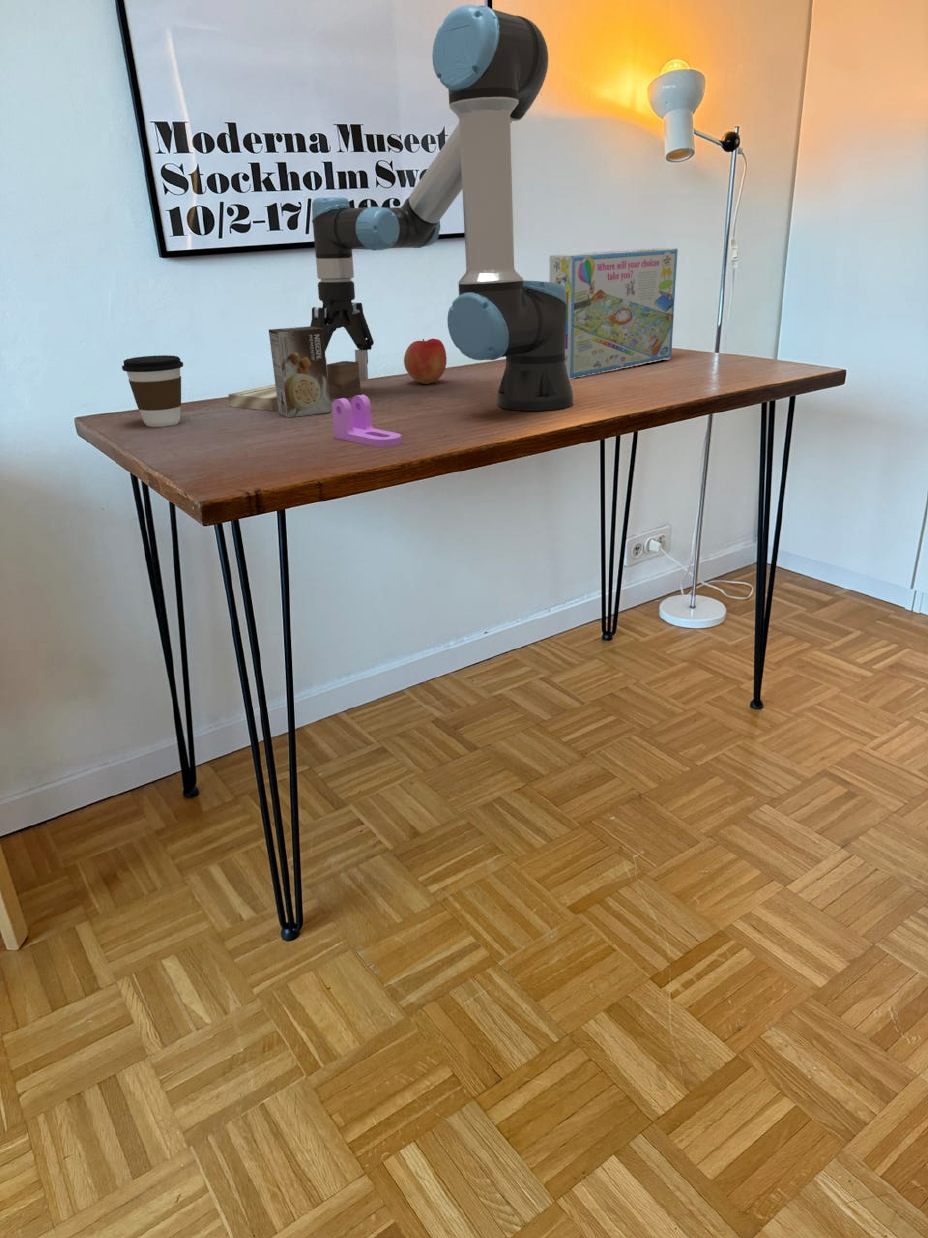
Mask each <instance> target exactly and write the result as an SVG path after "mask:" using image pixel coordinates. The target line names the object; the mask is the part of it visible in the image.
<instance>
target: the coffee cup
mask: <svg viewBox="0 0 928 1238" xmlns="http://www.w3.org/2000/svg"><path fill="white" fill-rule="evenodd" d="M182 367H184V362H183V361H181V358H180V357H179V356H177V355H167V354H166V355H147V356H145V355H144V356H138V357H136V356H135V357H131V358H130V357H129V358H127V359H124V360H123V365H121V370H122V371H123V372H126V374H127V376H128V377H127V378H128V383H129V386H130V389H131V391H132V395H133V397H134V400H135V403H136V406H137V408H138V410H139V412H140V415H141V418H142V421H143V422H144V424H145V426H146V427H150V428H162V427H163V428H164V427H169V426H170V427H171V426H175V425H178V424H180V420H181V406H182V376H181V368H182Z"/></svg>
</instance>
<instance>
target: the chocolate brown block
mask: <svg viewBox="0 0 928 1238" xmlns="http://www.w3.org/2000/svg"><path fill="white" fill-rule="evenodd" d="M327 374H328V387H329V396H330V399H335V400H336V399H341V398H346V399H349V397H350V398H353V396H356V395H360V394H361V393H362V392H361V381H360V378H359V365H358V362H355V361H353V360H352V361H351V360H349V361H348V360H342V361H337V362H332V363H327ZM361 395H362V394H361Z"/></svg>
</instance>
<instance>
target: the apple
mask: <svg viewBox="0 0 928 1238" xmlns="http://www.w3.org/2000/svg"><path fill="white" fill-rule="evenodd" d="M403 364H404V368H405V371H406V373H407V375H409V376H410V378H412V379H413V380H414V381H416V382H417V383H419V384H422V385H429V384H433V383H435V382H437V381H438V380H439V379H441V377H442V375H443V374H444V372H445V370H446V367H447V352H446V348H445V346H444V344H443V342H442V340H440V339H437V338H430V339H427V340H425V339H424V338H422V340H416V341H413V342H411V343H410V344H409V346H408V347H407V348H406V350H405V353H404V357H403Z"/></svg>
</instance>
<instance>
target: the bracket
mask: <svg viewBox="0 0 928 1238" xmlns="http://www.w3.org/2000/svg"><path fill="white" fill-rule="evenodd" d="M351 398H352V399H351V402H350V401H349V399H348V398H341V399H336V398H335V399H334V400H333V402H332V404H331V412H332V420H333V421H332V425H333V434H334V439H337V440H338V439H339V440H342V441H347V442H351V443H357V444H361V445H365V446H370V447H376V448H391V447H396V446H399V445H402V443H403V442H402V434H401V433H398V432H393V431H389V430H384V429H378V428H374V426H373V416H372V415H373V414H372V404H371V401H370V399H369V397H368V396H367V395H366V394H361V395H357V396H354V397H351Z"/></svg>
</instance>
